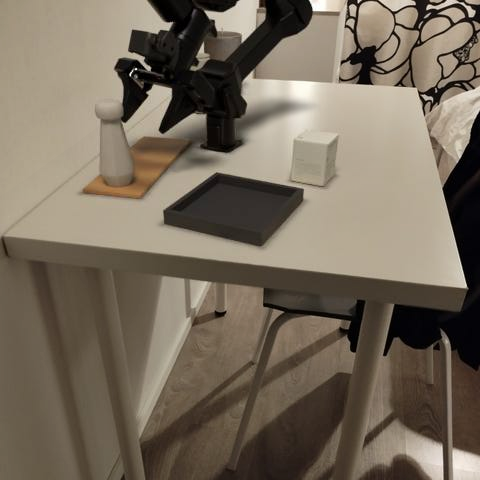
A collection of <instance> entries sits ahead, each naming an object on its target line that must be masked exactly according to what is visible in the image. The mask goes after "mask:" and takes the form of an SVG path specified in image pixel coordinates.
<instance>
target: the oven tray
mask: <svg viewBox="0 0 480 480" xmlns="http://www.w3.org/2000/svg"><path fill="white" fill-rule="evenodd" d="M304 193H305V188H302V187H297V186H292V185H286V184H281V183H275V182H271V181H266V180H260V179H256V178H249V177H245V176H244V177H243V176H238V175H234V174H229V173H228V174H227V173H223V172H217V171H216V172H215V173H213V174H212V175H210V176H209V177H208V178H206V179H205V180H203V181H202V182H201V183H199V184H198V185H197V186H195V187H194V188H192V189H191V190H190V191H188V192H187V193H185V194H184V195H183V196H181V197H180V198H178V199H177V200H176V201H174V202H173V203H172V204H170V205H168V206H167V207H166V208H165V209H163V210H162V213H163V215H162V216H163V224H164V225H168V226H171V227H172V226H173V227H177V228H180V229H185V230H190V231H193V232H199V233H203V234H207V235H211V236H215V237H219V238H223V239H228V240H232V241H237V242H241V243H246V244H248V245H253V246H258V247H262V246H263V245H264V244H265V243H266V242H267V241H268V240H269V239H270V238H271V236H273V235H274V234H275V232H276V231H277V230H278V229H279V228H280V227H281V226H282V224H283V223H284V222H286V220H287V219H288V218H289V217H290V216H291V215H292V214H293V213H294V212H295V210H297V208H298V207H299V206H300V205H301V204H302V203H303V202H304V196H305V195H304Z"/></svg>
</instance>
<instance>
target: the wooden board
mask: <svg viewBox="0 0 480 480" xmlns="http://www.w3.org/2000/svg"><path fill="white" fill-rule="evenodd" d="M190 144H191V139H183V138H171V137H170V138H169V137H159V136H145V135H144V136H143V137H141V138H140V139H139V140H137V142H136V143H134V144H133V145H132V146H131V147H129V148H130V152H131V155H132V158H133V162H134V165H135V172H134V175H133V177H132V181H131V183H130V184H129V185H127V186H123V187H111V186H109V185H108V184H107V182H106V181H105V180H104V178H103V177H102V175H101V174H100V173H99V175H97V176H96V177H95V178H94V179H93V180H91V182H89V183H88V184H87V185H86V186H85V187H84V188H82V193H83V194H91V195H101V196H111V197H112V196H113V197H121V198H123V197H124V198H132V199H142V198H143V197H144V195H146V193H147V192H148V191H149V190H150V189H151V188H152V187H153V186H154V185H155V183H156V182H157V181H158V180H159V179H160V178H161V177H162V175H163V174H165V172H166V171H167V170H168V169H169V168H170V166H172V164H174V162H175V161H176V160H177V159H178V158H179V156H180V155H181V154H182V153H183V152H184V151H185V150H186V149H187V148H188V146H189V145H190Z"/></svg>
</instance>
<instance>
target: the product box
mask: <svg viewBox="0 0 480 480" xmlns="http://www.w3.org/2000/svg"><path fill="white" fill-rule="evenodd" d="M339 136H340V134H339V133H338V132H331V131H324V130H323V131H322V130H316V129H315V130H314V129H305V130H303V132H300V133H299V134H298V135H297V136H296V137H294V138H293V144H292V146H293V148H292V160H291V173H290V181H292V182H297V183H301V184H308V185H312V186H318V187H324V186H326V184H327V183H328V182H329V181H330V180H331V179H332V178H333V177H334V176H335V170H336V161H337V152H338V144H339Z"/></svg>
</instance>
